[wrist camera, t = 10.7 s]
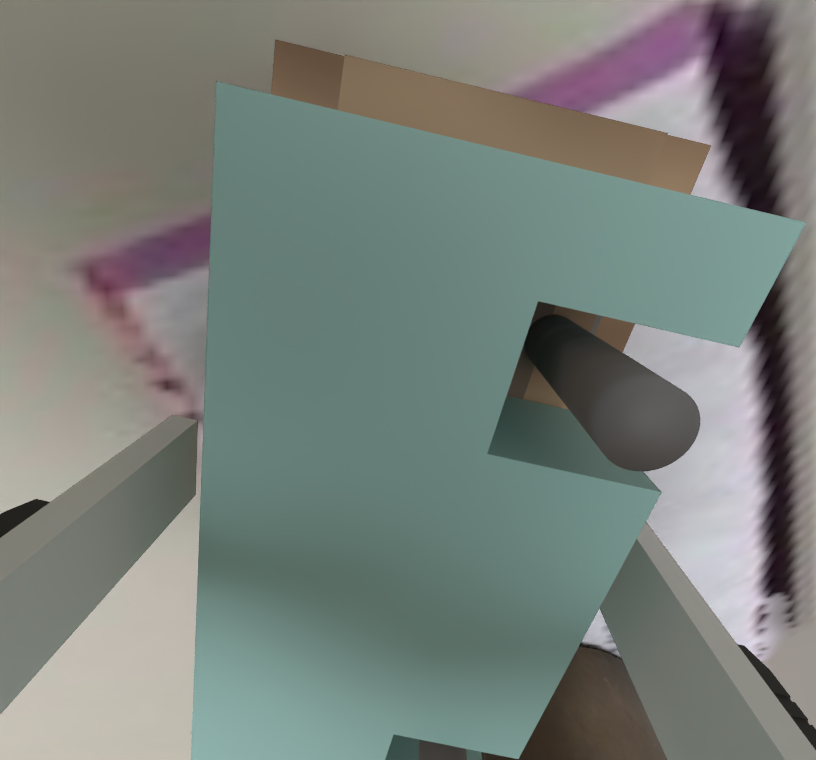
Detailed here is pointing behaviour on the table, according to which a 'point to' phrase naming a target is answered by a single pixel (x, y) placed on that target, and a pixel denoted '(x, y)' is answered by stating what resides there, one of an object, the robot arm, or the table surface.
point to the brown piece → (551, 325)
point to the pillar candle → (592, 716)
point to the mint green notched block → (418, 425)
